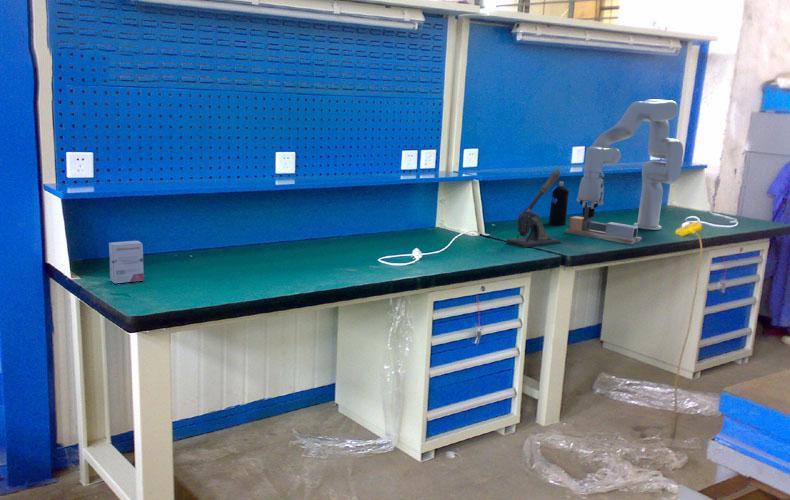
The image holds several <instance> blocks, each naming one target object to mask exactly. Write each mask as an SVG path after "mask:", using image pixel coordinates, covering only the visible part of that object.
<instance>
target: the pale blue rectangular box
mask: <svg viewBox="0 0 790 500" xmlns="http://www.w3.org/2000/svg"><path fill="white" fill-rule="evenodd" d="M605 224H606V232H605V235H610V236H615V237H621V238H627V239H635V238H637V237H638V229H639V228H638V226H634V225H632V224H625V223H620V222H613V221H610V222H607V223H605Z"/></svg>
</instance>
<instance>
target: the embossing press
mask: <svg viewBox="0 0 790 500" xmlns="http://www.w3.org/2000/svg"><path fill="white" fill-rule="evenodd" d="M560 176H561V170H560V169H556V170H554V171H552V172H551V174H550V175H549V176H548V178H547V180H546V182H545V183H544V184H543V185H542V186H541V187H540V190H539V191H538V193H537V195H536V196H535V197H534V198H533V200H532V201H531V202H530V203H529V205H528V206H527V207H526V208H525V209H524V210H523V212H521V213H519V215H518V217H517V232H518V234H516V236H517V237H516V238H508V239H507V240H506V241H505V242H506V244H510V245H513V246H518V247H523V248H529V247H539V246H548V245H556V244H561V240H559V239H556V238H552V237H551V236H550V235H548V233H547V232H546V230H545V227H544V224H543V220H542V219H541V217H540V216H539V215H538V214H537V213H536V212H533V211H532V209H534V207H535V206H536V204H537V202H538V201H539V200H540V199H541V198H542V196H543V195H545V194H546V193H547V192H548V191H549V190H550V188H551V187H552V185H553V184H554V183H555V182H556V181H557V180H558V178H560ZM527 235H528V236H527Z"/></svg>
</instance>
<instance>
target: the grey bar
mask: <svg viewBox="0 0 790 500" xmlns="http://www.w3.org/2000/svg"><path fill="white" fill-rule="evenodd" d="M590 209H591V205H587V206H585V211H584V220H583V226H582V230H586V231H587V230H595V231H601V232H606V224H607V223H604V222H598V221H593V217H592V218H589V210H590Z"/></svg>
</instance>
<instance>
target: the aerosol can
mask: <svg viewBox="0 0 790 500" xmlns="http://www.w3.org/2000/svg"><path fill="white" fill-rule="evenodd" d="M569 194H570V190H569V189H568V188H567V187H565V186H564V181H559V184H558V186H555V187H553V189H551V199H550V209H549V216H548V217H549V219H548V222H547V224H549V225H551V226H558V227H561V226H562V227H563V226H566V225H567V214H568V207H569V206H568V205H569V197H570V196H569Z"/></svg>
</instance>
